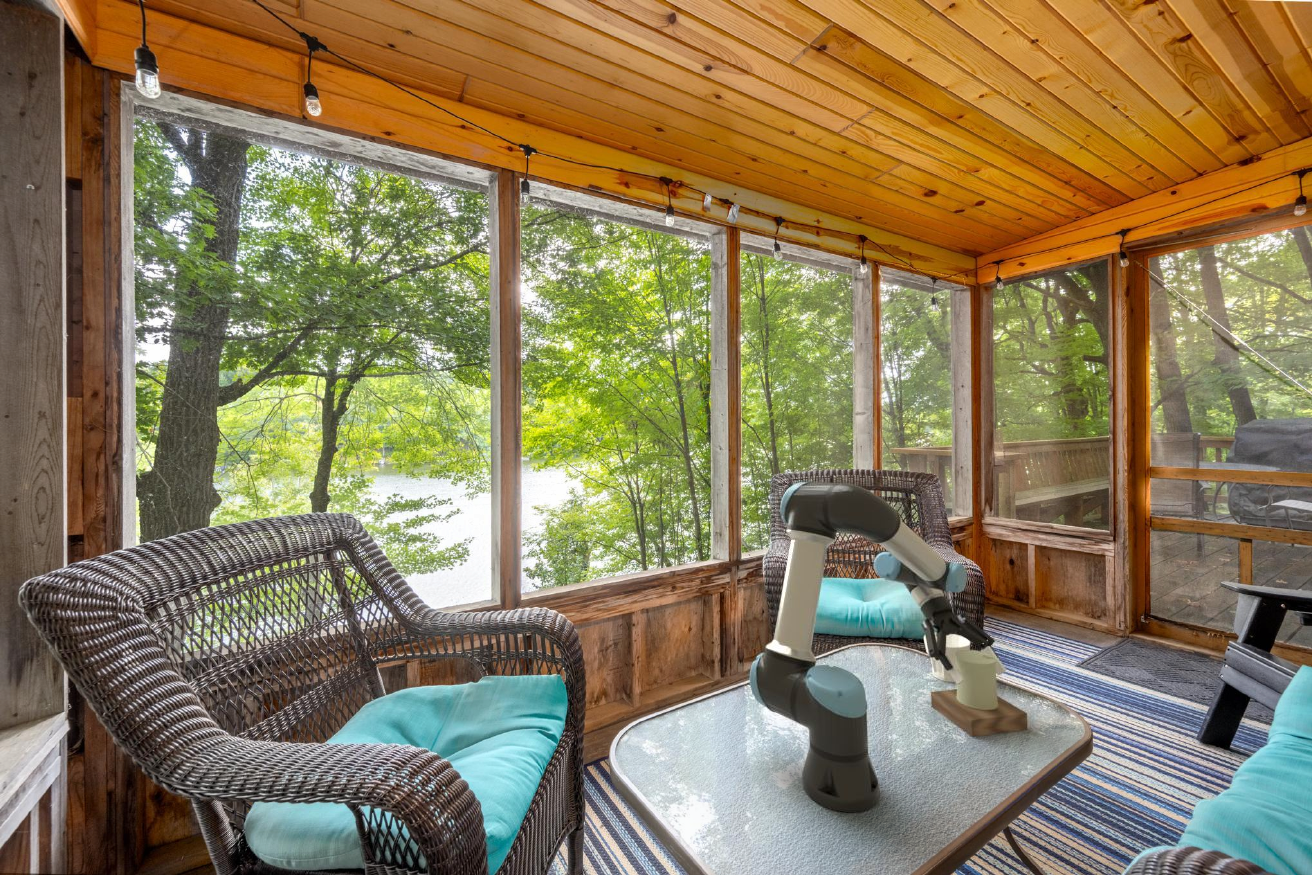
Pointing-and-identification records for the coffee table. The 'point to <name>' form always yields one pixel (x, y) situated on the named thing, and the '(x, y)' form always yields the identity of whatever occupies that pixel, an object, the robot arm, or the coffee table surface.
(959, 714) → the plinth
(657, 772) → the coffee table surface
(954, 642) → the cup
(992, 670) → the can
